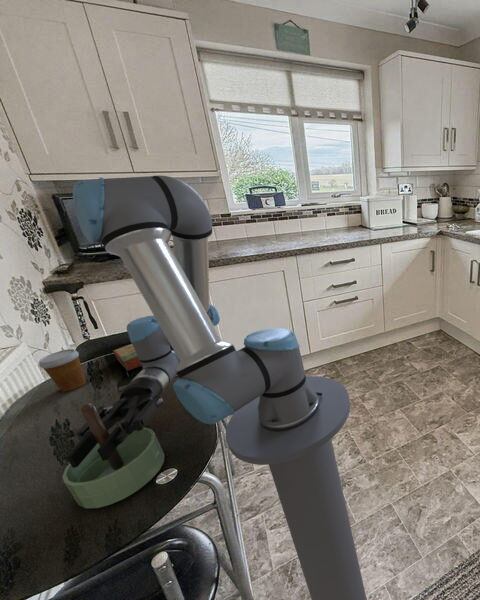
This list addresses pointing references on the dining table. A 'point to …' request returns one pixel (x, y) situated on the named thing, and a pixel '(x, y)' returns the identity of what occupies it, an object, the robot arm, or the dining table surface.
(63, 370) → the disposable coffee cup
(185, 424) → the dining table surface
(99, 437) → the wooden peg on disc
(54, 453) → the dining table surface
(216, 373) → the robot arm
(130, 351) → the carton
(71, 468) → the bowl
